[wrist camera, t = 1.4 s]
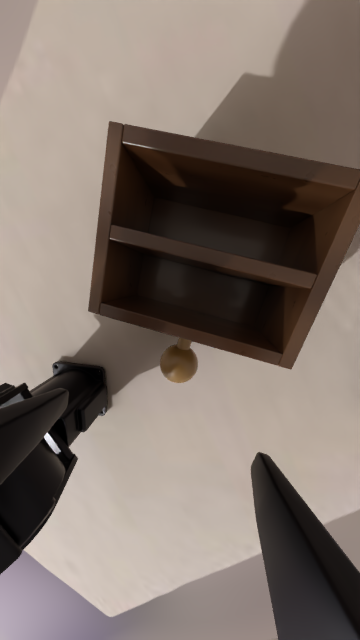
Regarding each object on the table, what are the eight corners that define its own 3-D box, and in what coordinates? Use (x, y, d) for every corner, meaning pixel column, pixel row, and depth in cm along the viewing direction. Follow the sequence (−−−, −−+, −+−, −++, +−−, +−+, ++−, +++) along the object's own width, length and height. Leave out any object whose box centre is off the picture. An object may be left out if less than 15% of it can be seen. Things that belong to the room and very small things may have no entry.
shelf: (241, 374, 18) (263, 429, 11) (124, 339, 19) (80, 371, 12) (300, 222, 14) (384, 173, 8) (150, 189, 15) (108, 119, 8)
